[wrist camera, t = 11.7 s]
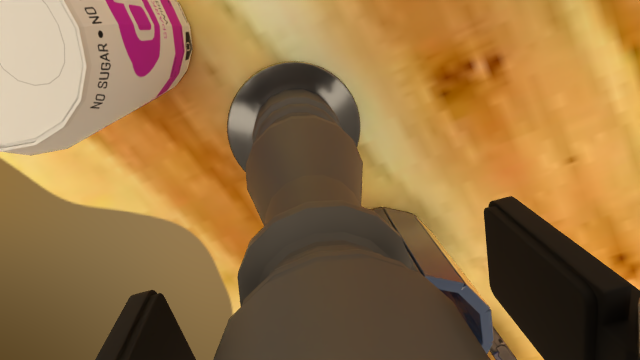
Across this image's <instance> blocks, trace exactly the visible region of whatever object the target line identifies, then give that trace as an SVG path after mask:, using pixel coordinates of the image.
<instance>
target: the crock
mask: <svg viewBox="0 0 640 360" xmlns="http://www.w3.org/2000/svg"><path fill="white" fill-rule="evenodd" d="M373 211H375V212H376V213H377V214H378V215H379V216H380V217H381V218H383V219H384V220H385V221H386V222H387V223H388V224H389V225H390V226H391V227H393V228H394V229H395V230H396V231H397V232H398V233H399V234H400V236H401V238H402V240H403V243H404V245H405V248H406V250H407V253H408V255H409V258H410V260H411V263H412V270H413V271H417V272H420V273H421V274H422V275H423V276H424V277H426V278H427V279H428V280H429V281H430V282H431V283H432V284H434V285H435V286H436V287H437V288H438V289H439V290H440V291H442V292H443V293H444V294H445V295H446V296H447V297H448V298H450V299H451V300H452V301H453V303H454V304H455V306H456V307H457V309H458V311H459V312H460V314H461V315H462V317H463V318H464V320H465V321H466V323H467V324H468V326H469V328H470V329H471V331H472V332H473V334H474V335H475V337H476V338H477V340H478V341H479V343H480V344H481V346H482V348H483V349H484V351H485V352H486V354H488V352H489V350H490V348H491V346H492V344H493V342H492V341H494V338H493V327H492V316H491V310H490V307H489V306H488V304H487V303H486V302H485V300H484V299H483V298H482V297H481V295H480V294H479V293H478V291H477V290H476V289H475V287H474V286H473V285H472V284H471V282H470V281H469V280H468V278H467V277H466V276H465V274H464V273H463V272H462V271H461V269H460V268H459V267H458V265H457V264H456V263H455V261H454V260H453V259H452V258H451V256H450V255H449V254H448V252H447V251H446V250H445V248H444V247H443V246H442V245H441V243H440V242H439V241H438V239H437V238H436V237H435V235H434V234H433V233H432V232H431V231H430V230H429V229H428V228H427V227H426V226H425V225H424V224H423V223H422V222H421V221H420V220H419V219H418V218H417V217H416V216H415V215H413V214H411V213H407V212H402V211H398V210H394V209H389V208H385V207H383V209H382V207H380V208H376V209H373Z"/></svg>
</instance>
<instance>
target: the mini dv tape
mask: <svg viewBox="0 0 640 360" xmlns="http://www.w3.org/2000/svg"><path fill="white" fill-rule="evenodd" d="M492 327H493V326H492ZM493 338H494V341H492V342H493V344H492V346H491V348H490V352H491V353H492V355H493V356H494V358H495V359H496V360H517V359H516V358H515V356H514V355H513V354H512V352H511V351H510V349H509V348H508V347H507V345H506V344H505V343H504V341H503V340H502V338H501V337H500V336H499V334H498V333H497V332H496V330H495V329H494V327H493Z"/></svg>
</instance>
